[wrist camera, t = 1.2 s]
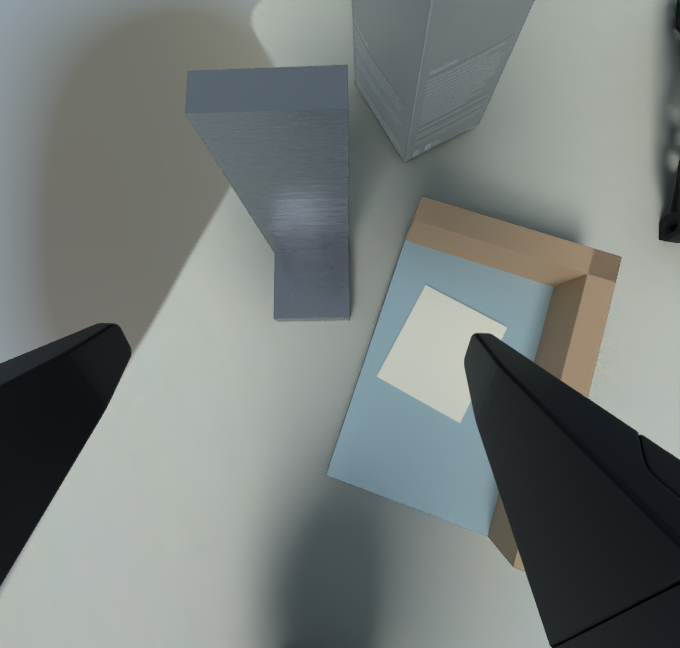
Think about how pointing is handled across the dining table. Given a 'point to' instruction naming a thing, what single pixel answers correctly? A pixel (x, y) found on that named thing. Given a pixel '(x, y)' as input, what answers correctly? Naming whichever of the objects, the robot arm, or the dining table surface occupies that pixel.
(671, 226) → the decorative element
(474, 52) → the skincare box
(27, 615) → the dining table surface
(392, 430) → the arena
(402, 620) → the dining table surface
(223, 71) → the grey tall post
